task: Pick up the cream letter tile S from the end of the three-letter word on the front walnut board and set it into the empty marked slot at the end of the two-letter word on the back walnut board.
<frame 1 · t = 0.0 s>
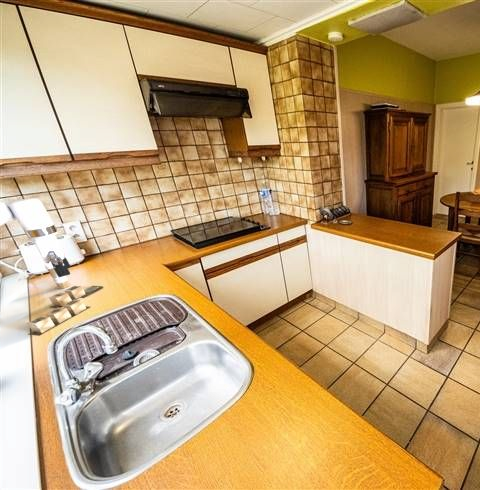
hand: (65, 271, 106), 20 cm above the worktop, tool pointing down, fingers open, 9 cm apart
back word: (78, 298, 126), on the worktop
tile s: (44, 328, 104), point 1 cm above the worktop, touching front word
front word: (62, 321, 109), on the worktop
sprinkles bottle: (65, 287, 136), on the worktop
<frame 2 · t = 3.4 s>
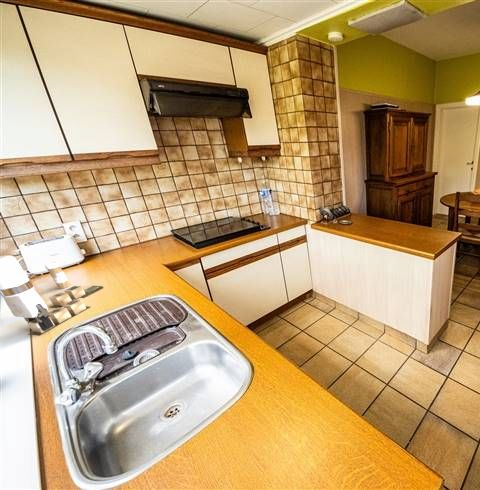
hand: (43, 327, 104), 2 cm above the worktop, tool pointing down, fingers closed on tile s, 4 cm apart
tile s: (44, 328, 104), point 1 cm above the worktop, touching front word, gripper
everything else where it was.
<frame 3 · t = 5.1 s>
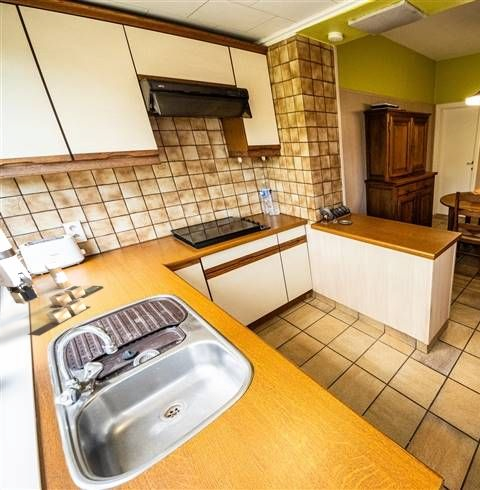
hand: (26, 298, 100), 15 cm above the worktop, tool pointing down, fingers closed on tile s, 4 cm apart
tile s: (28, 300, 100), point 14 cm above the worktop, touching gripper
everything else where it was.
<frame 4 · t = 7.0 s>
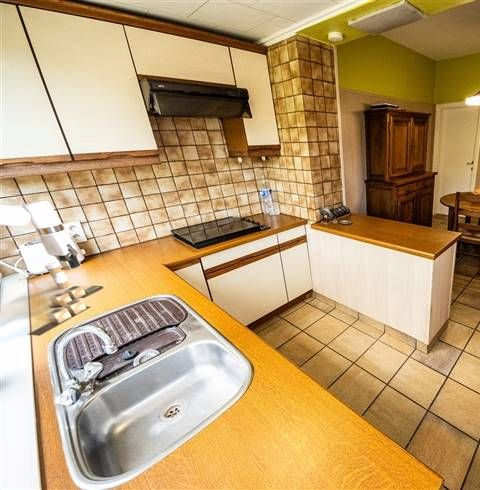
hand: (71, 266, 122), 15 cm above the worktop, tool pointing down, fingers closed on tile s, 4 cm apart
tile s: (72, 267, 122), point 15 cm above the worktop, touching gripper
everything else where it was.
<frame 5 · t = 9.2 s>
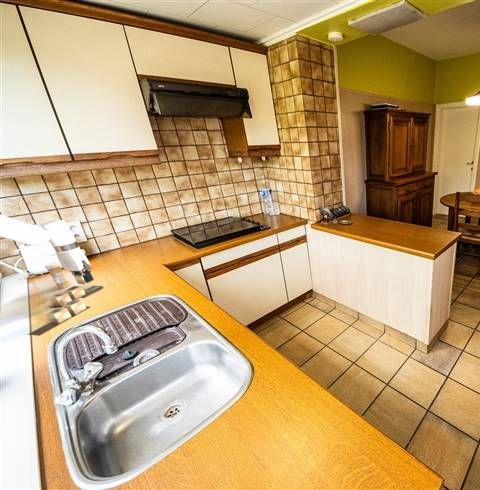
hand: (86, 280, 128), 6 cm above the worktop, tool pointing down, fingers closed on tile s, 4 cm apart
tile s: (86, 281, 129), point 5 cm above the worktop, touching gripper
everything else where it was.
when the fingers open (2 cm above the worktop, at t = 10.6 s): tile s stays where it is, resting on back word.
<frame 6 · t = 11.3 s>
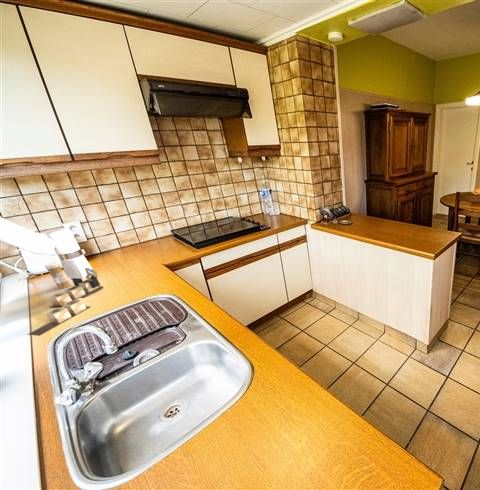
hand: (88, 286, 129), 3 cm above the worktop, tool pointing down, fingers open, 9 cm apart
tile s: (90, 289, 130), point 1 cm above the worktop, touching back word
everything else where it was.
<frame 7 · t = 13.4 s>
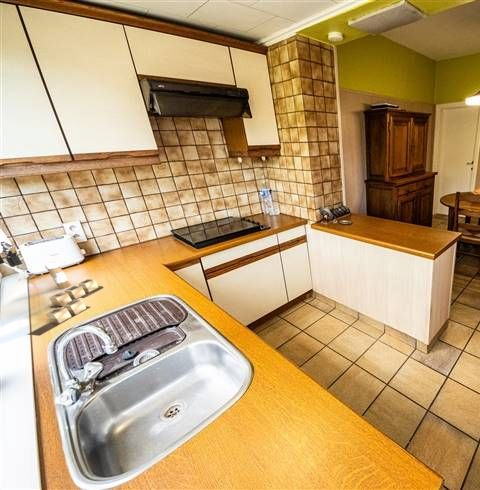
hand: (7, 264, 109), 23 cm above the worktop, tool pointing down, fingers open, 9 cm apart
nothing on the worktop moved.
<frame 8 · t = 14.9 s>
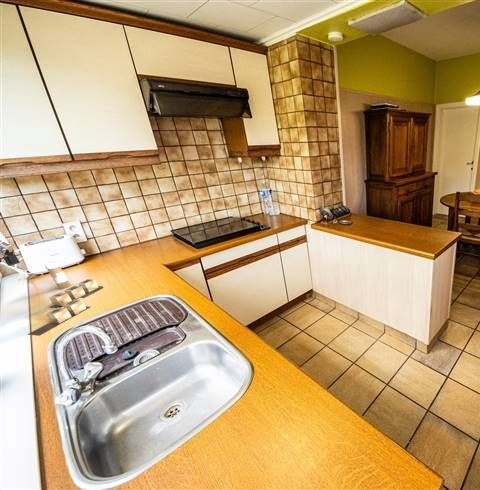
hand: (5, 263, 109), 23 cm above the worktop, tool pointing down, fingers open, 9 cm apart
nothing on the worktop moved.
at the end: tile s 0.1 cm from the target spot on the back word, point 1.2 cm above the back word's base; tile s tilted 0°; the gripper is holding nothing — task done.
